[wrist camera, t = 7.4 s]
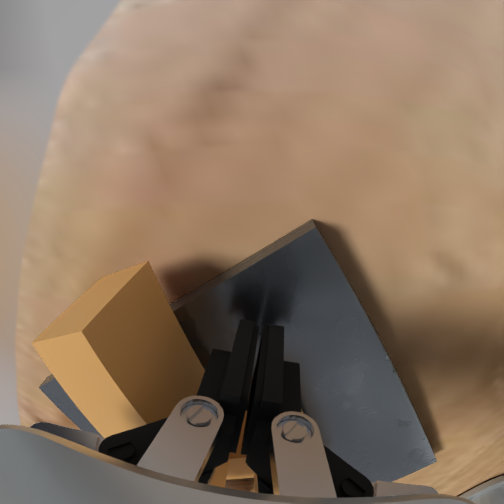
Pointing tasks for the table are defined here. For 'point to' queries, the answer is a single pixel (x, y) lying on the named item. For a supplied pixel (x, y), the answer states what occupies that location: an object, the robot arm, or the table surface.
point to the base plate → (307, 353)
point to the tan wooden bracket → (127, 358)
